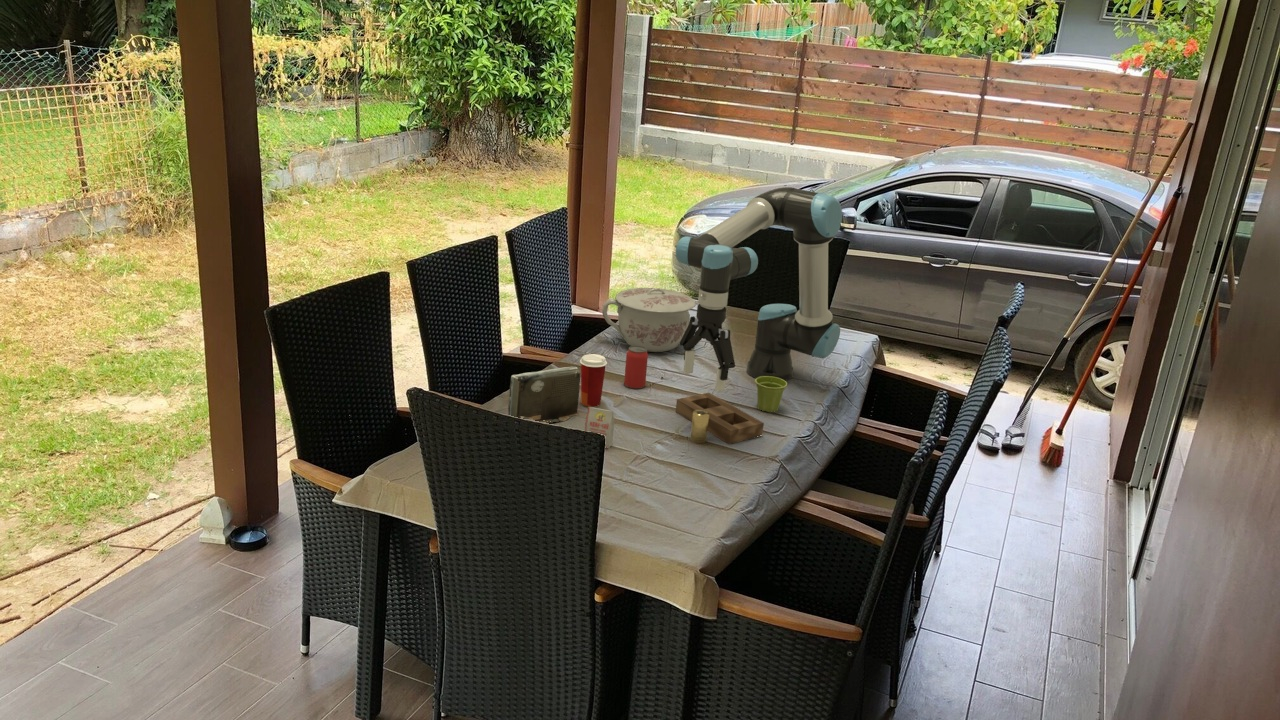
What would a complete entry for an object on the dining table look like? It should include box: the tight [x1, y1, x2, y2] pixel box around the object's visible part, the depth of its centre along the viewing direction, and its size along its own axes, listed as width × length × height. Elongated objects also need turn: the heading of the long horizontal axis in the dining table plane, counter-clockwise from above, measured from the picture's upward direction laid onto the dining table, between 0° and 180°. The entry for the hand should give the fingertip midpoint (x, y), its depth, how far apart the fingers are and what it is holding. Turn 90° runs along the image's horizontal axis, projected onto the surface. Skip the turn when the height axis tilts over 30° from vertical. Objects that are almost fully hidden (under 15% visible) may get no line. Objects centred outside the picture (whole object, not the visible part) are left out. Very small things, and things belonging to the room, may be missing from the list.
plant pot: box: [754, 376, 788, 413], centre depth 287 cm, size 9×9×9 cm
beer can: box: [623, 345, 649, 390], centre depth 296 cm, size 7×7×12 cm
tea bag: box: [584, 406, 615, 450], centre depth 255 cm, size 4×7×10 cm, turn 74°
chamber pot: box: [601, 287, 697, 353], centre depth 330 cm, size 28×28×21 cm
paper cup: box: [579, 353, 608, 408], centre depth 280 cm, size 8×8×14 cm
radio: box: [507, 365, 581, 424], centre depth 266 cm, size 23×9×15 cm, turn 125°
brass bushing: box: [689, 410, 709, 444], centre depth 262 cm, size 4×4×8 cm
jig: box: [675, 392, 765, 445], centre depth 274 cm, size 12×24×4 cm, turn 36°
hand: (703, 381), depth 258 cm, fingers open, 13 cm apart
